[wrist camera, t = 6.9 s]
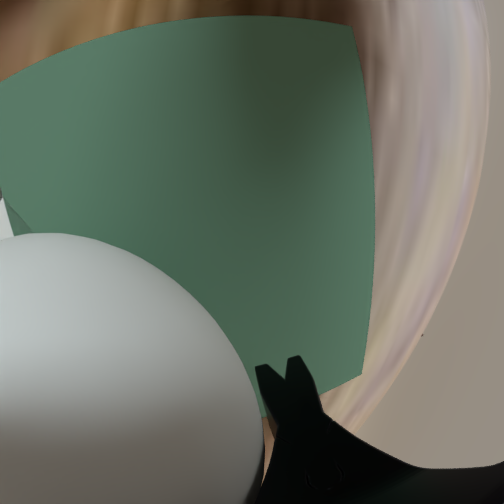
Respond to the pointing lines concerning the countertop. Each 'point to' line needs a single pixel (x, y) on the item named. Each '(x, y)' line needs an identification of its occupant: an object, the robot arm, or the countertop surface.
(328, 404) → the countertop surface
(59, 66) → the putting deck
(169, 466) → the ball
